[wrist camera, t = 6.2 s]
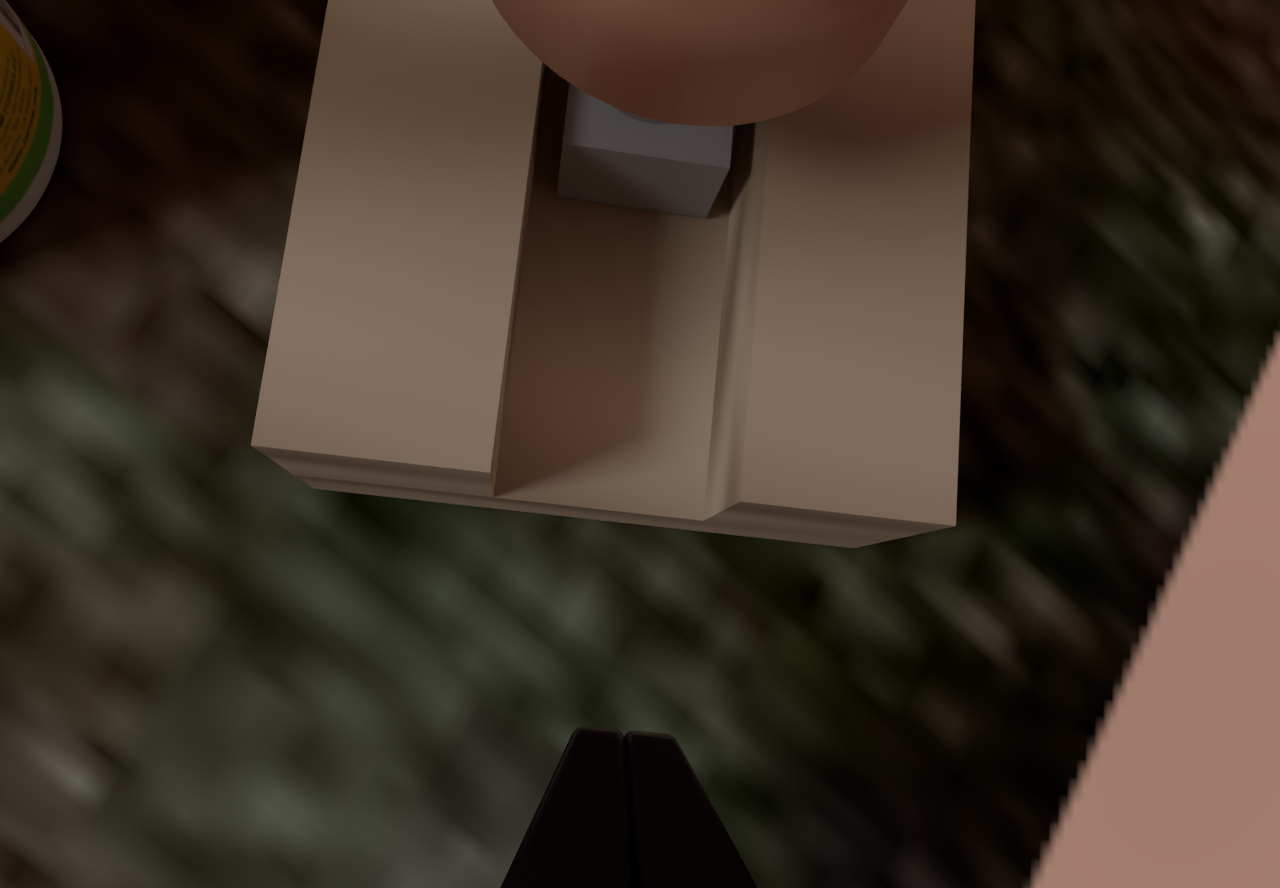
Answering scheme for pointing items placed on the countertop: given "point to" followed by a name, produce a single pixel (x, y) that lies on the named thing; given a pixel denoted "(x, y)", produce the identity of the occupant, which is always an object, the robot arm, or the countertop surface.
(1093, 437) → the countertop surface
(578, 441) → the knob track
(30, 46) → the supplement bottle
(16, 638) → the countertop surface
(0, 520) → the countertop surface
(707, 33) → the knob
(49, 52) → the countertop surface
